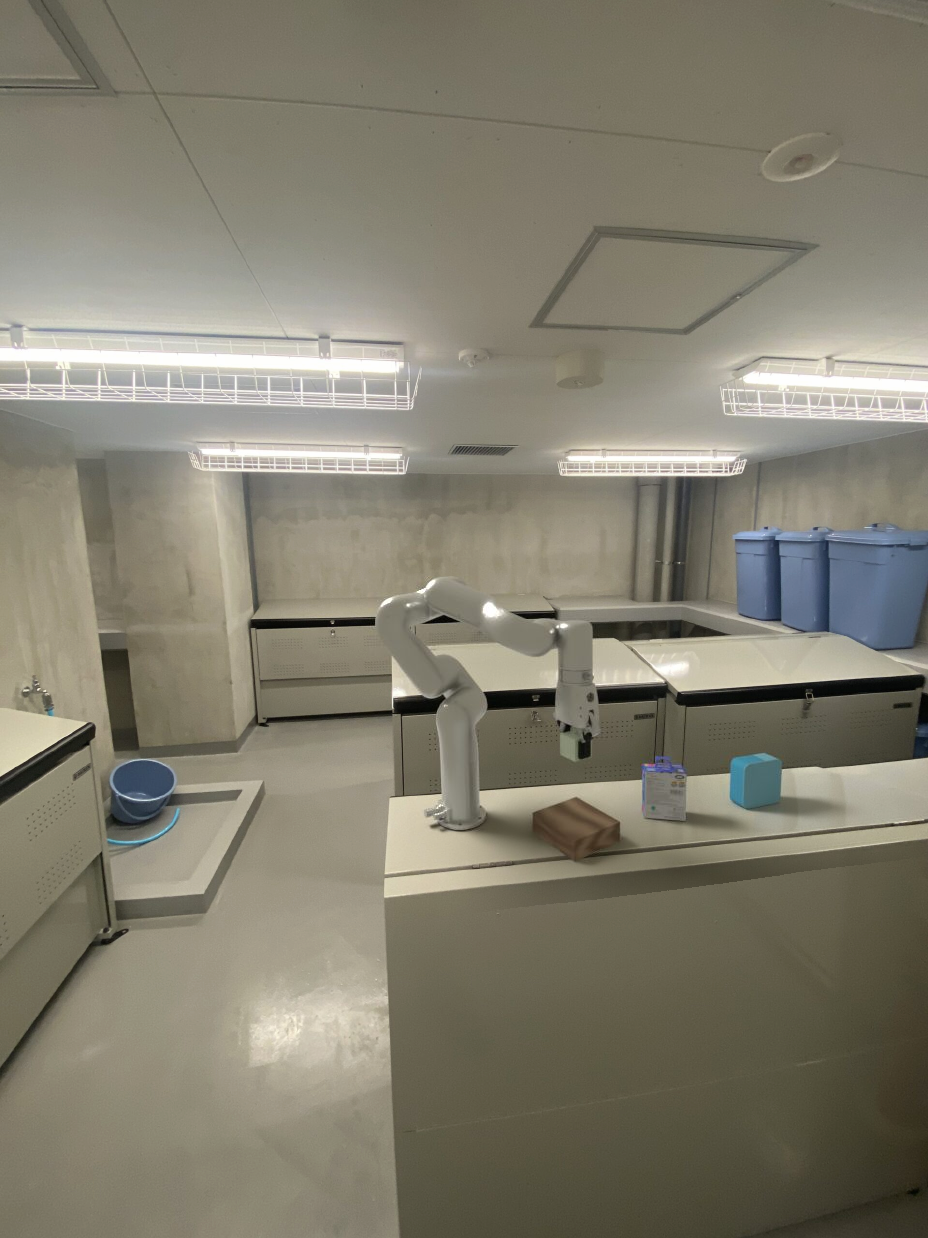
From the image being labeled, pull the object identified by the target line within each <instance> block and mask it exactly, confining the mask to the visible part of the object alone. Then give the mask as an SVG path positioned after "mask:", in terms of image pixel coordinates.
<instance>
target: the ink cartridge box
mask: <svg viewBox="0 0 928 1238" xmlns="http://www.w3.org/2000/svg"><path fill="white" fill-rule="evenodd" d="M654 757H655V758H654V759H655V760H654V761H655V762H654V763H642V764H641V774H642V775H641V785H642V788H641V792H642V793H641V794H642V796H641V812H642V816H643V818H644V819H653V820H654V819H656V820H668V821H669V820H670V821H681V822H682V821H683V822H685V821H686V819H687V817H686V815H687V814H686V813H687V779H688V777H687V775H688V774H687V772H686V770H685V768H684V766H683V765H681V764H672V761H671V760H672V759H671V756H659V755H656V756H654ZM660 760H664V761H667V762H659V761H660Z"/></svg>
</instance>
